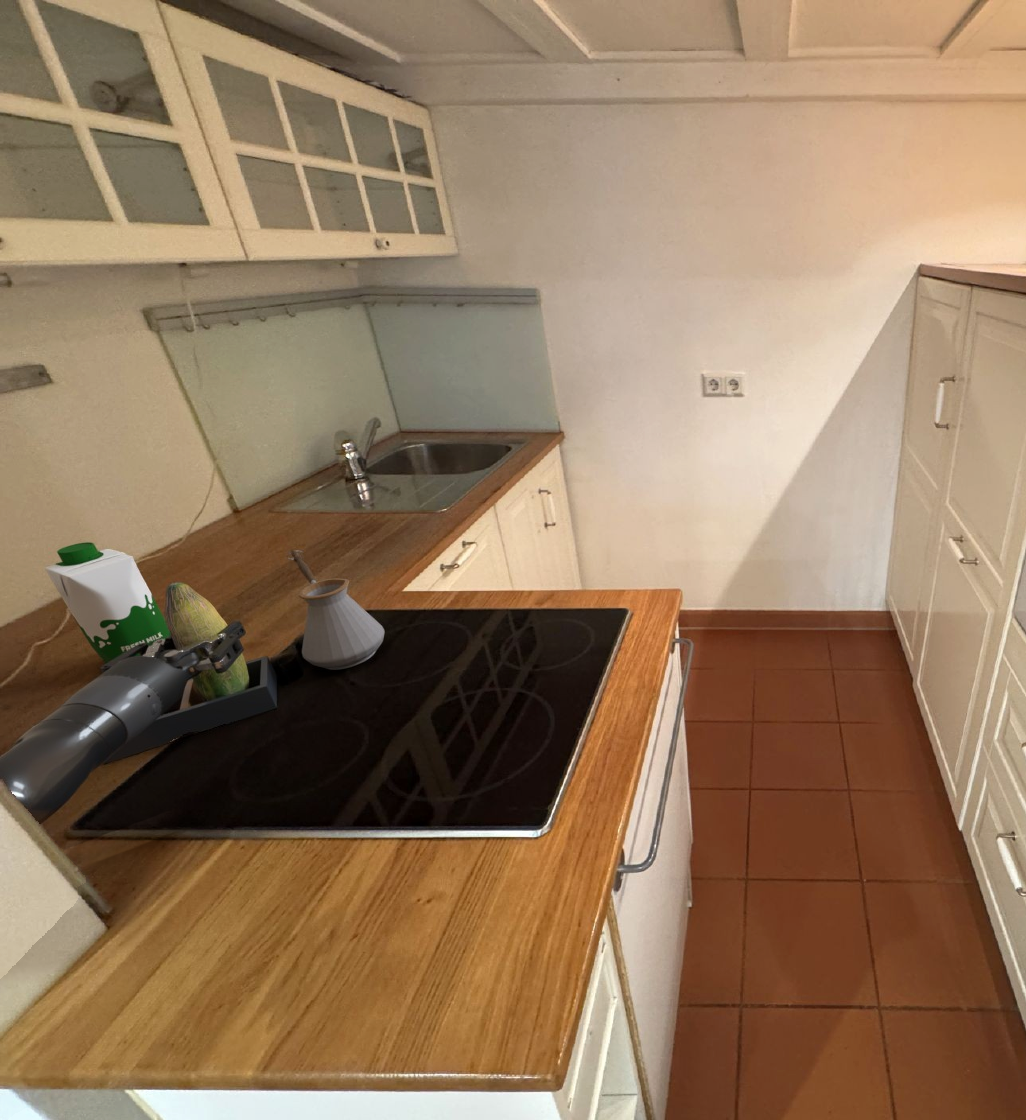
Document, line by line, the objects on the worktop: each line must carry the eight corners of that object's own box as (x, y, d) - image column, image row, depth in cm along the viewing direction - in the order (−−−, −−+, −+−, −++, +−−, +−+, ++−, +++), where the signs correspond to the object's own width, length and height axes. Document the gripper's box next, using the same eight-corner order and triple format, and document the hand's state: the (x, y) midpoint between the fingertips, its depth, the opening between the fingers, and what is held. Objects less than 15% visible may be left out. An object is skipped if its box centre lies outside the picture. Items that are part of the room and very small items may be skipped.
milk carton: (161, 639, 107) (105, 534, 98) (189, 650, 103) (133, 543, 94) (96, 666, 99) (28, 556, 91) (123, 679, 96) (56, 566, 87)
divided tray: (103, 764, 79) (88, 740, 77) (118, 724, 86) (104, 702, 85) (276, 708, 89) (266, 685, 87) (277, 676, 96) (267, 655, 94)
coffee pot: (400, 653, 101) (372, 572, 94) (320, 686, 93) (283, 601, 87) (357, 611, 114) (330, 537, 107) (284, 637, 106) (250, 560, 100)
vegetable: (268, 687, 93) (215, 570, 85) (254, 712, 88) (196, 590, 79) (220, 697, 91) (160, 578, 83) (202, 723, 86) (137, 599, 77)
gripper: (175, 670, 71) (259, 600, 86) (35, 684, 69) (146, 611, 84) (202, 720, 74) (279, 645, 89) (69, 735, 73) (170, 656, 88)
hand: (214, 629), depth 87 cm, fingers closed on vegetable, 6 cm apart
